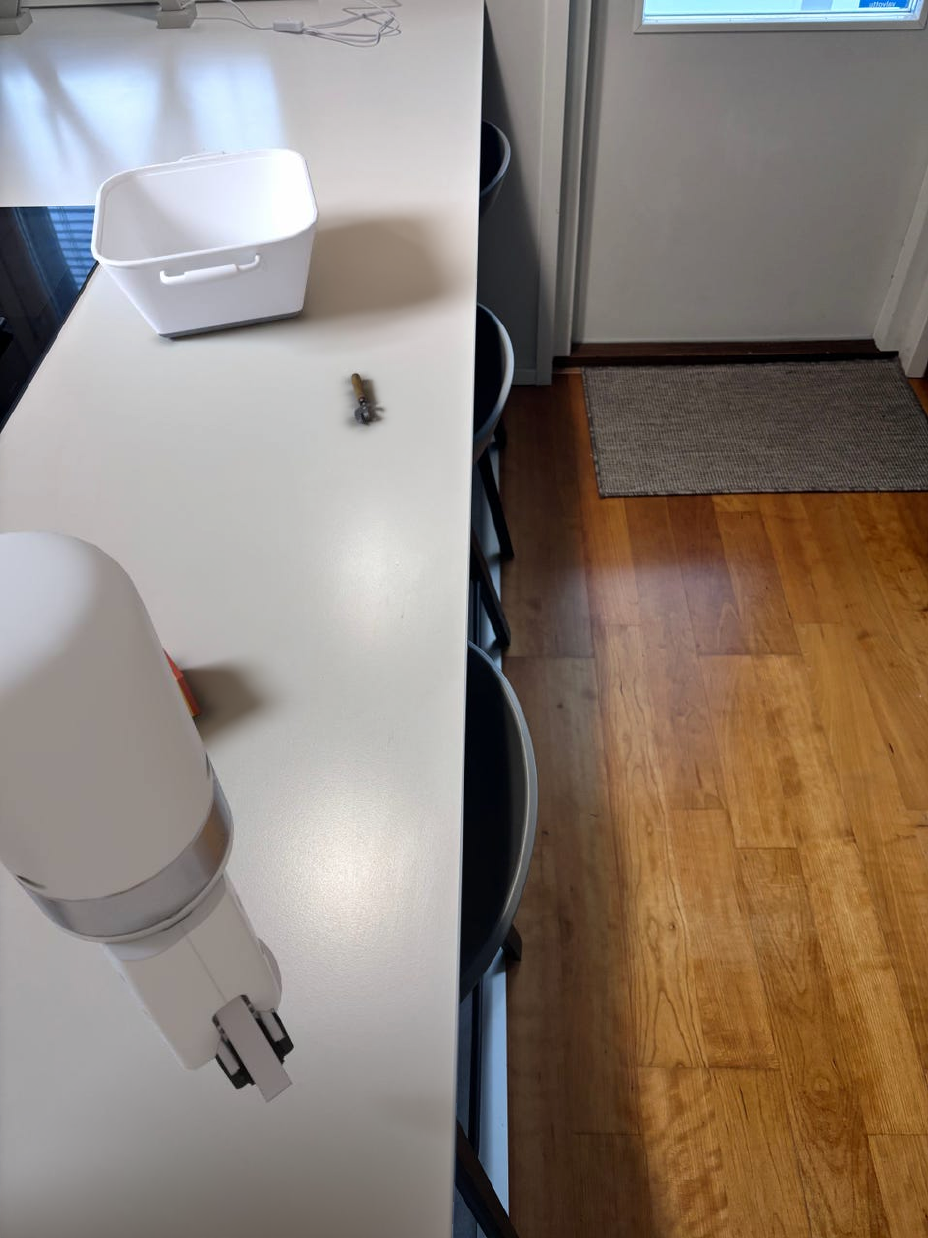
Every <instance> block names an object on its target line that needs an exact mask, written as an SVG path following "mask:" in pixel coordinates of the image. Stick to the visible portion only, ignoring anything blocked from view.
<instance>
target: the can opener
mask: <svg viewBox="0 0 928 1238" xmlns="http://www.w3.org/2000/svg"><path fill="white" fill-rule="evenodd" d="M350 379H351V385H352V388H353V390H354V392H355V395H356V398H357V403H358V404H359V406H358V407H357V408H356V409H355V410H354V413H353V414H354V415H353V416H354V418H355V421H357V422H358V423H360V424H362V425H363V424H364V420H363V417H364V419H365V422H369V421H371V416H370V413H369V410H368V409H369V408H371V410H374V409H375V405H374V403H371V402H368V399H367V395H366V393H365V387H364V383H363V380H362V378H361V375H360V374H359V373H358V372H357V373H356V372H354V373H353V374H352V375H351V377H350ZM362 415H363V417H362Z"/></svg>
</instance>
